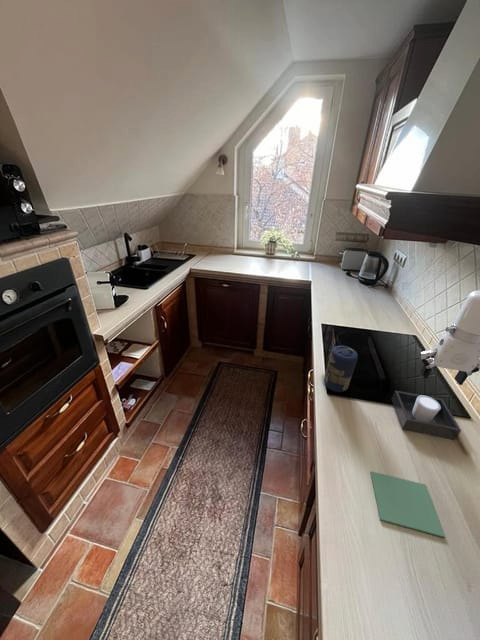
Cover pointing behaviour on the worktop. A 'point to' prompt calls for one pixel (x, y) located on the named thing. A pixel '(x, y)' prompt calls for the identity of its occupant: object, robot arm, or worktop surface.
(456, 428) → the basin
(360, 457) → the worktop surface
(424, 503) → the drying mat
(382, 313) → the worktop surface
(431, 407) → the white short cylinder
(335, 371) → the canister
